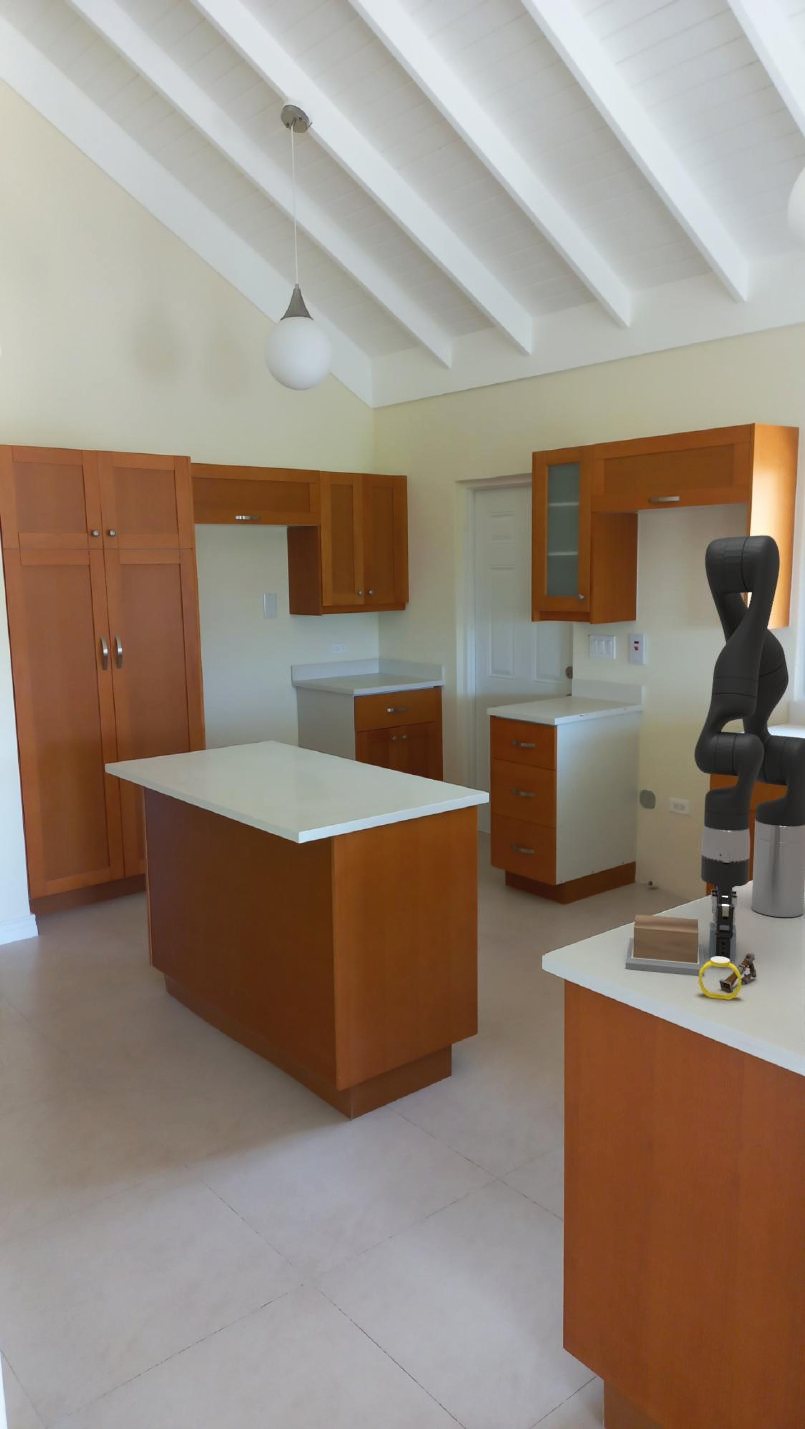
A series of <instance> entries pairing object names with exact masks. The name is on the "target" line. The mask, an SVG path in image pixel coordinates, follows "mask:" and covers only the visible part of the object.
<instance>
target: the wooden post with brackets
mask: <svg viewBox="0 0 805 1429" xmlns="http://www.w3.org/2000/svg"><path fill="white" fill-rule="evenodd" d="M755 956H756V954H755V953H754V952H751V953H749V952H748V953H746V955H745V957H743V961H741V963H738V965H737V966H735V967H736V968H737V969H738V971H739V973H740V975H741V976H742V975H743V976H742V977H741V985H748V984H749V982H752V979H751V978H753V979H756V978H757V977H758V974H757V970H756V968H755V965H754V961H755V960H756V958H755ZM747 968H748V969H749V970H748V971H749V973H745V972H747ZM732 971H733V970H732ZM737 980H738V977H737V975H736V973H735V972H734V971H733V972H732V973H731V974H730V975H729V976H728V977H727V978H725V979H720V980H718V982H719V985H720V989H722V990H726V991H729V992H731V993H732V992H733V991H734V990H733V986H734V984H735V983H736V981H737Z"/></svg>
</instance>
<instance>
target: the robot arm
mask: <svg viewBox="0 0 805 1429" xmlns="http://www.w3.org/2000/svg"><path fill="white" fill-rule="evenodd" d="M704 555H705V556H704V567H705V568H704V569H705V573H706V579H707V583H708V587H709V591H710V593H711V596H712V599H713V601H714V602H713V603H714V605H715V608H716V609H715V610H716V612H717V615H718V617H719V620H720V624H721V628H722V632H723V634H724V635H723V636H724V641H725V645H724V646H723V647H722V649H721V651H720V653H719V655H718V656H717V659H716V661H715V664H714V667H713V672H712V673H713V674H712V684H711V685H712V687H711V698H710V704H709V708H708V711H707V712H708V713H707V716H706V719H705V722H704V724H703V726H702V728H701V732H700V734H699V736H698V739H697V740H696V741H697V742H696V745H695V748H694V754H693V755H694V762H695V765H696V766H697V768H698V769H699V771H701V772H702V773H704V774H707V775H719V776H730V777H737V782H736V784H735V785H733V786H728V787H720V788H714V789H710V790H709V791H707V793H706V794H705V798H704V811H703V812H704V816H703V817H704V819H703V831H702V836H701V837H702V838H701V855H700V856H701V859H700V861H701V862H700V878H701V880H702V881H703V882H705V883H707V884H709V885H714V886H713V887H714V889H713V888H712V889H710V890H711V891H710V899H711V913H712V921H713V923H716V932H715V935H716V956H720V957H726V958H728V959H730V943H731V938H732V936H733V924H734V923H735V922H736V907H737V905H738V895H737V890H736V891H735V890H733V888H735V887H743V886H745V885H747V884H748V883H749V881H750V860H751V859H750V858H751V835H750V817H751V815H750V814H751V801H752V796H753V790H754V787H755V783H756V782H758V783H760V784H766V785H774V786H780V787H781V786H783V787H787V788H786V793H785V794H784V795H783V796H782V797H779V798H777V799H776V798H775V799H772V800H766V801H763V802H762V801H761V803H758V804H757V805H756V807H755V811H754V812H755V813H754V814H755V815H754V842H753V867H752V869H753V870H752V890H751V891H752V892H751V894H752V895H751V909H752V910H754V911H755V912H756V913H759V914H761V915H765V916H770V917H777V918H795V917H800V916H801V915H803V914H804V911H805V908H804V907H805V737H798V736H797V737H796V736H788V735H775V734H774V735H773V734H772V733H770V732H769V729H768V728H769V727H768V721H769V718H770V717H771V715H772V713H773V711H774V710H775V708H776V707H777V705H778V704H779V702H780V701H781V700H782V698H783V697H784V694H786V690H787V688H788V685H789V670H788V664H787V660H786V654H785V651H784V647H783V646H782V643H781V642H780V640H779V639H778V638H777V637H776V636H775V634H773V632H772V631H771V630H770V629H769V628H768V627H769V623H770V620H771V619H770V618H771V615H772V611H773V605H774V602H775V601H774V600H775V596H776V591H777V587H778V583H779V582H778V581H779V575H780V569H781V568H780V564H781V561H780V551H779V546H778V544H777V541H776V540H775V539H774V537H772V536H770V535H767V534H766V535H764V534H761V535H746V536H745V535H744V536H732V537H720V538H717V539H714V540H711V542H710V543H709V544H708V545H707V547H706V550H705V554H704ZM742 593H743V594H744V593H745V594H747V593H748V594H749V593H751V594H750V599H749V604H748V606H747V605H746V603H745V601H744V599H743V596H742ZM736 720H742V725H743V732H730V731H723V729H724V727H725V726H726V725H727V724H728V723H729V722H732V721H736ZM721 925H727V926H729V927H728V930H720V926H721Z"/></svg>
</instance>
